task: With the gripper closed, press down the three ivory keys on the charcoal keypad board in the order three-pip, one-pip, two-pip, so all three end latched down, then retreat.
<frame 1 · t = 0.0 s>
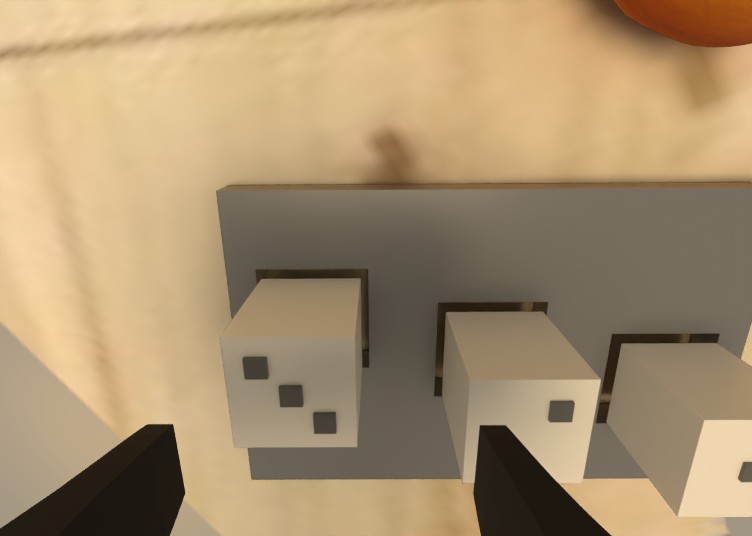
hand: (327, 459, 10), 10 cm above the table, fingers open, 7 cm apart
keypad board: (481, 334, 21), on the table
key two: (507, 389, 16), point 4 cm above the table, slide at 0.0 cm
key three: (303, 355, 16), point 4 cm above the table, slide at 0.0 cm
key one: (700, 422, 17), point 4 cm above the table, slide at 0.0 cm
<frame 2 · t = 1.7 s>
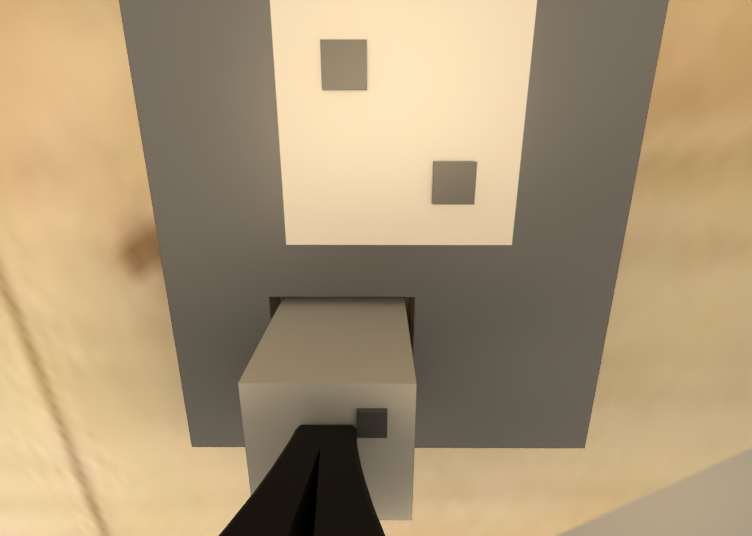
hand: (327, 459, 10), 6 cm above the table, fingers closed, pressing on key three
keypad board: (390, 122, 14), on the table
key two: (395, 124, 9), point 4 cm above the table, slide at 0.0 cm
key three: (338, 395, 13), point 3 cm above the table, slide at 1.0 cm, touching gripper
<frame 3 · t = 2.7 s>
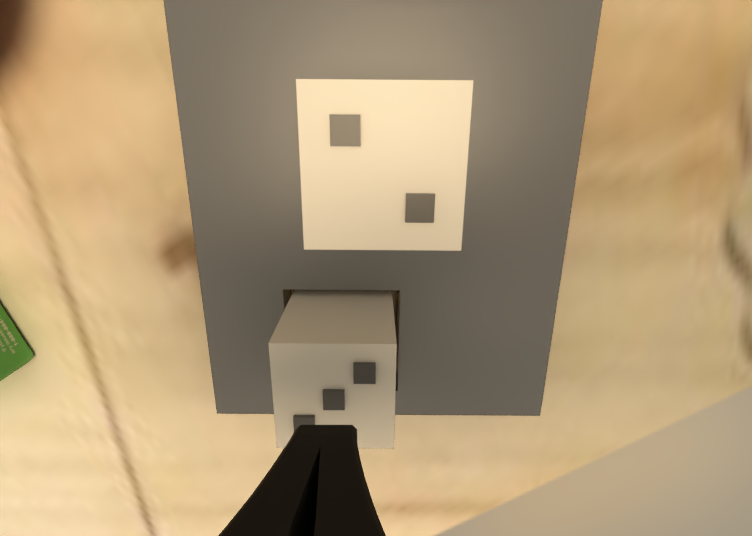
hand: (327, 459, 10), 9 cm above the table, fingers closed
keypad board: (380, 150, 17), on the table
key two: (382, 160, 13), point 4 cm above the table, slide at 0.0 cm
key three: (339, 359, 17), point 3 cm above the table, slide at 1.5 cm
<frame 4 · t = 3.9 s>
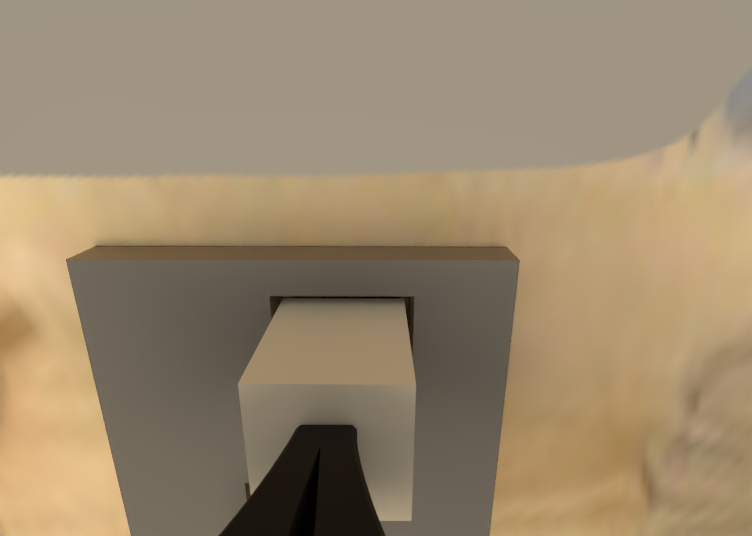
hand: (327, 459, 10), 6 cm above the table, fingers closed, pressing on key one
keypad board: (314, 498, 19), on the table
key one: (338, 396, 13), point 4 cm above the table, slide at 0.9 cm, touching gripper
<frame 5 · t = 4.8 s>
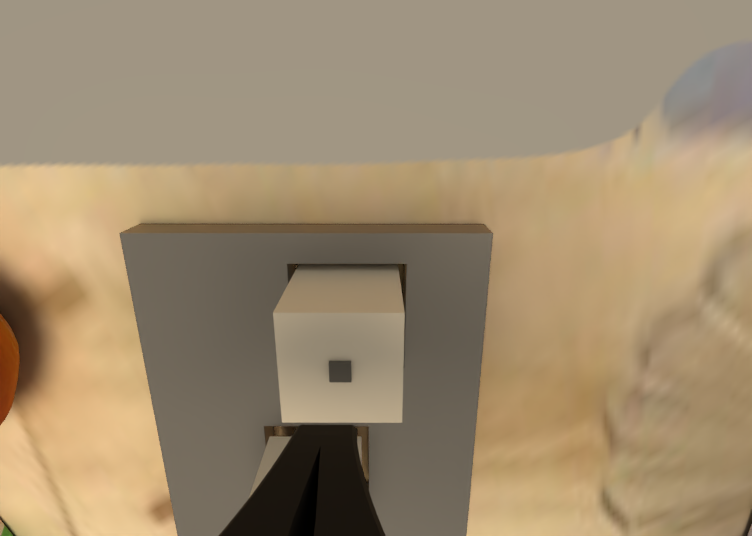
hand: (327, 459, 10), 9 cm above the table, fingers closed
keypad board: (322, 445, 22), on the table
key two: (309, 523, 17), point 4 cm above the table, slide at 0.0 cm
key one: (345, 334, 16), point 3 cm above the table, slide at 1.5 cm
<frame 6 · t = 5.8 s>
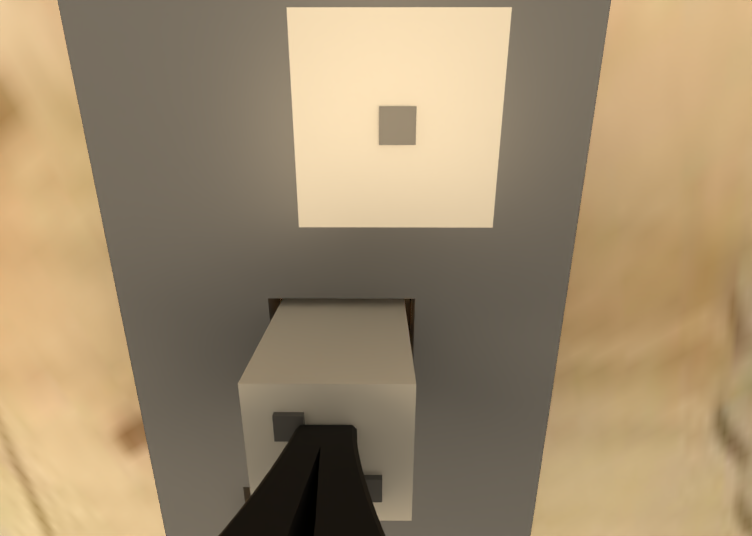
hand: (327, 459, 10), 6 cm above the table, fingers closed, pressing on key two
keypad board: (346, 341, 16), on the table
key two: (338, 395, 13), point 3 cm above the table, slide at 1.1 cm, touching gripper
key one: (393, 124, 11), point 3 cm above the table, slide at 1.5 cm
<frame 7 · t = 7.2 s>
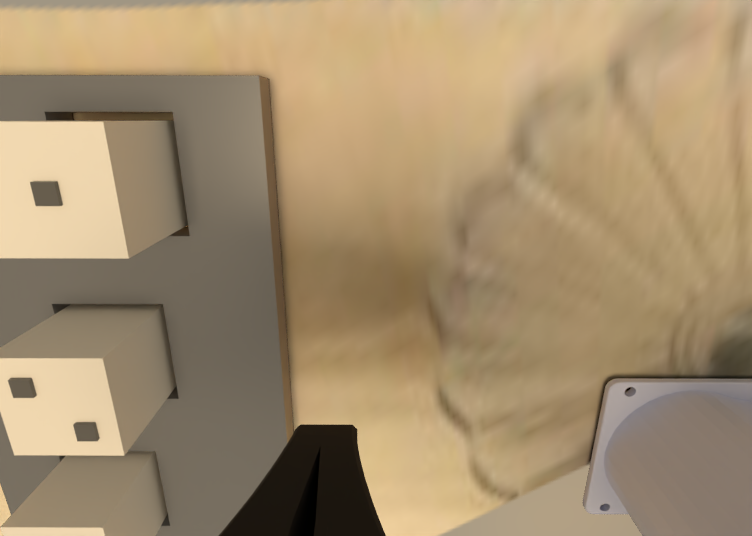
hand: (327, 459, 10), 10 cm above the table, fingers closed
keypad board: (135, 336, 20), on the table
key two: (98, 371, 18), point 3 cm above the table, slide at 1.5 cm
key three: (98, 513, 20), point 3 cm above the table, slide at 1.5 cm
key one: (97, 181, 15), point 3 cm above the table, slide at 1.5 cm
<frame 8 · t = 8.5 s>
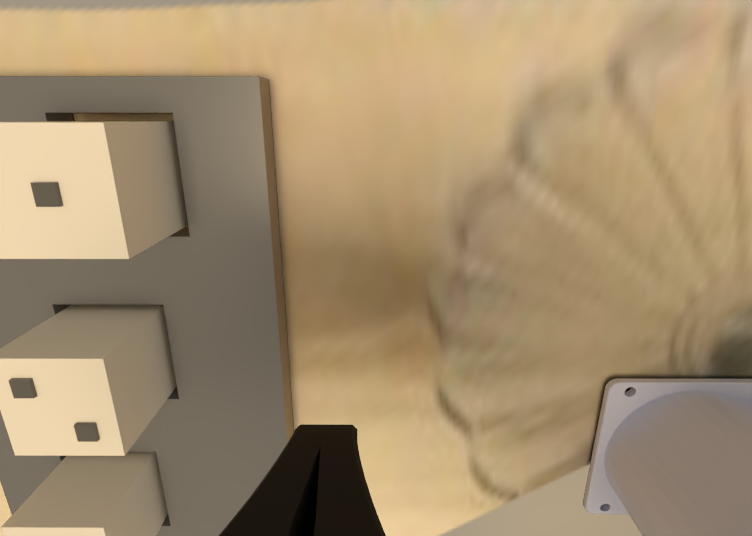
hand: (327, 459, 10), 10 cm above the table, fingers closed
keypad board: (136, 337, 20), on the table
key two: (98, 371, 18), point 3 cm above the table, slide at 1.5 cm
key three: (99, 514, 20), point 3 cm above the table, slide at 1.5 cm
key one: (98, 182, 15), point 3 cm above the table, slide at 1.5 cm
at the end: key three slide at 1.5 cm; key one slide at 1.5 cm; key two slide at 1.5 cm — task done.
